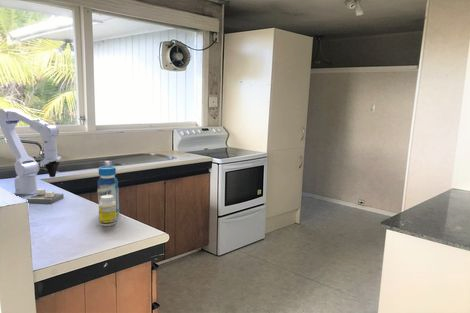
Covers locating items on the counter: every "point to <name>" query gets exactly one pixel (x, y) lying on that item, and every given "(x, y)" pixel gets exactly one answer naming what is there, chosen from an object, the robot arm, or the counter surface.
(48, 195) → the switch tab
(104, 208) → the pill bottle
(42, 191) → the switch tab
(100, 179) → the beverage bottle
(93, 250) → the counter surface
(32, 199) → the switch panel
